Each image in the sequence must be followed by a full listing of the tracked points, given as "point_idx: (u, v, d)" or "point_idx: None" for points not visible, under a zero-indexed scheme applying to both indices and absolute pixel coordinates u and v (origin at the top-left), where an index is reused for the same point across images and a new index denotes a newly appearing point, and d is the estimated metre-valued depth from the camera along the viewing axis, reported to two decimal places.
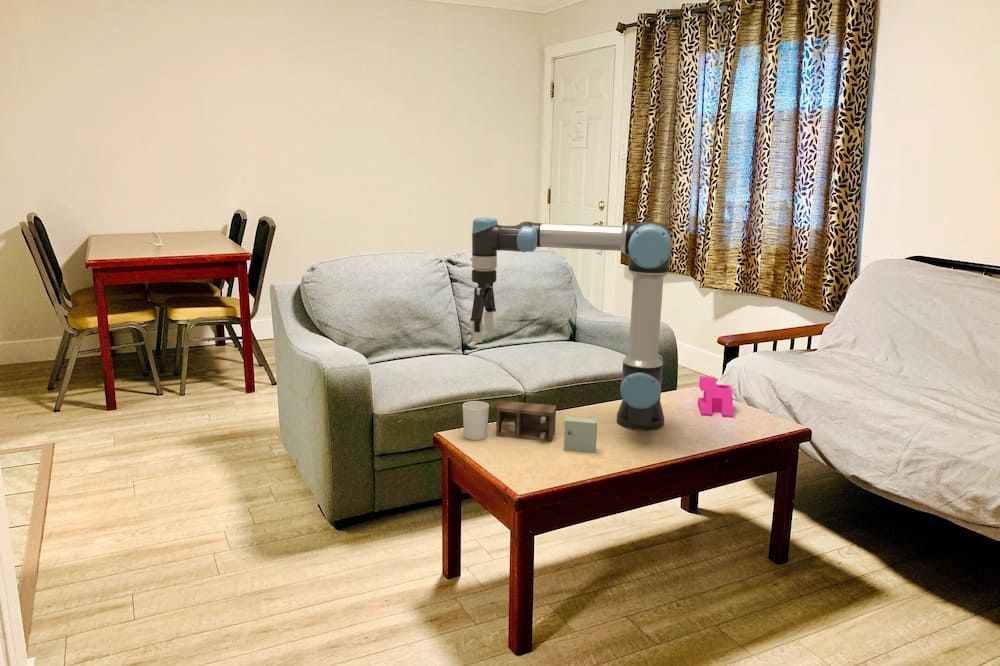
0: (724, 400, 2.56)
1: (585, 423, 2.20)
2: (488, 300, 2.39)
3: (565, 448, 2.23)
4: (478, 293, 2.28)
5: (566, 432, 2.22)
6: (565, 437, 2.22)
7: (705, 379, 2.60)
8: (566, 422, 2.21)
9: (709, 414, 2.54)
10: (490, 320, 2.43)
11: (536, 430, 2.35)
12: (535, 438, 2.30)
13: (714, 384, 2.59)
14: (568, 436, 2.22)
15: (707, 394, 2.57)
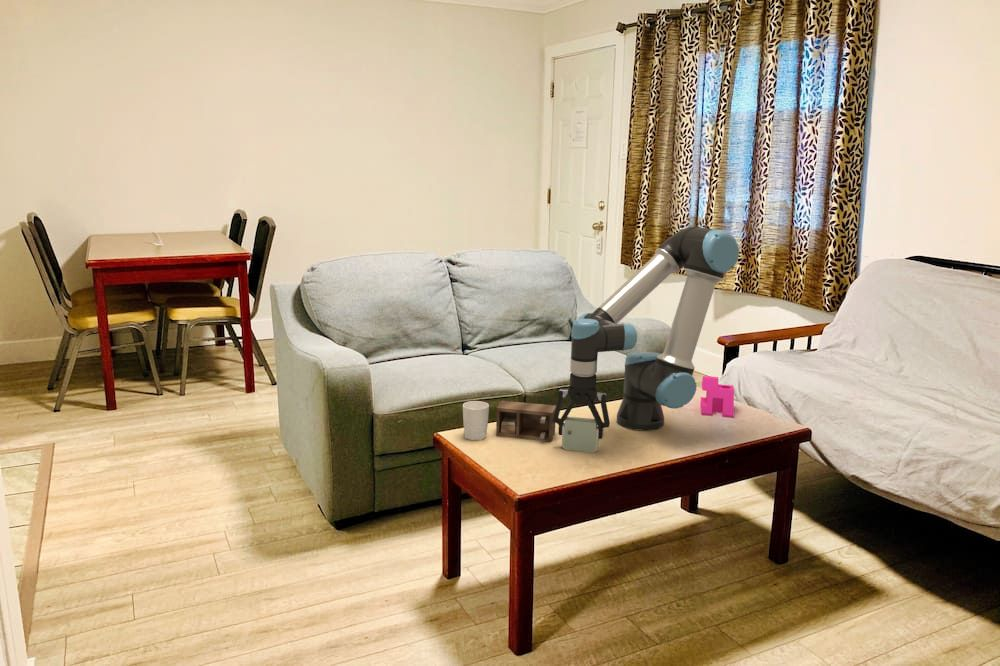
0: (725, 400, 2.56)
1: (585, 423, 2.20)
2: None
3: (565, 448, 2.23)
4: None
5: (566, 432, 2.22)
6: (565, 437, 2.22)
7: (707, 379, 2.61)
8: (566, 422, 2.21)
9: (709, 414, 2.54)
10: None
11: (536, 430, 2.35)
12: (535, 438, 2.30)
13: (716, 384, 2.59)
14: (568, 436, 2.22)
15: (708, 394, 2.58)
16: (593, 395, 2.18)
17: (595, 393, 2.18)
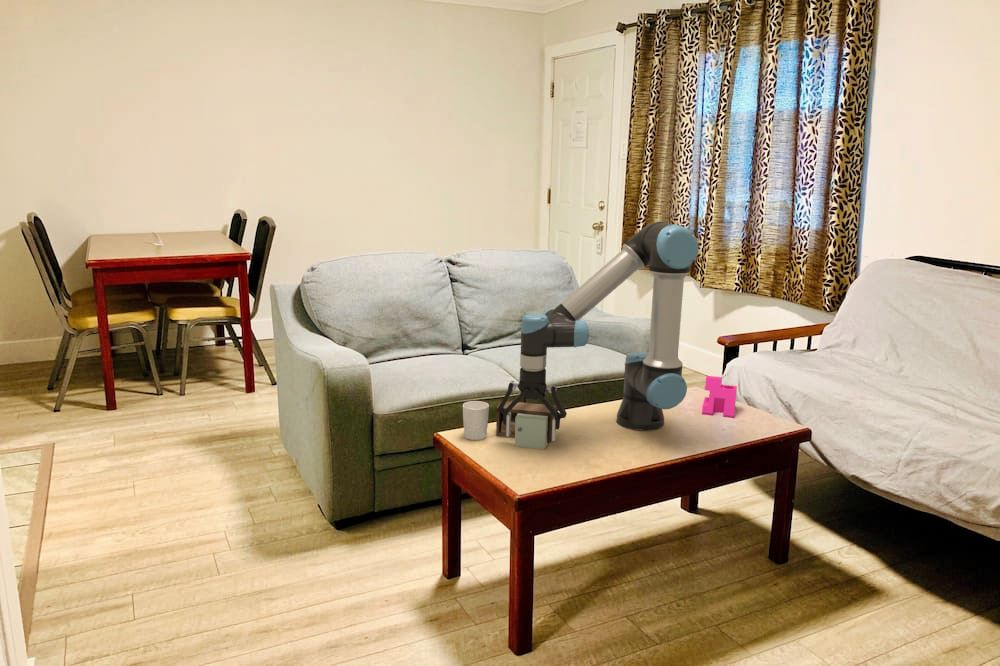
0: (727, 400, 2.56)
1: (535, 420, 2.22)
2: None
3: (516, 445, 2.25)
4: None
5: (517, 429, 2.23)
6: (516, 434, 2.24)
7: (710, 379, 2.61)
8: (516, 419, 2.23)
9: (710, 413, 2.54)
10: None
11: None
12: None
13: (719, 384, 2.59)
14: (519, 433, 2.24)
15: (710, 393, 2.58)
16: (543, 389, 2.20)
17: (544, 387, 2.20)
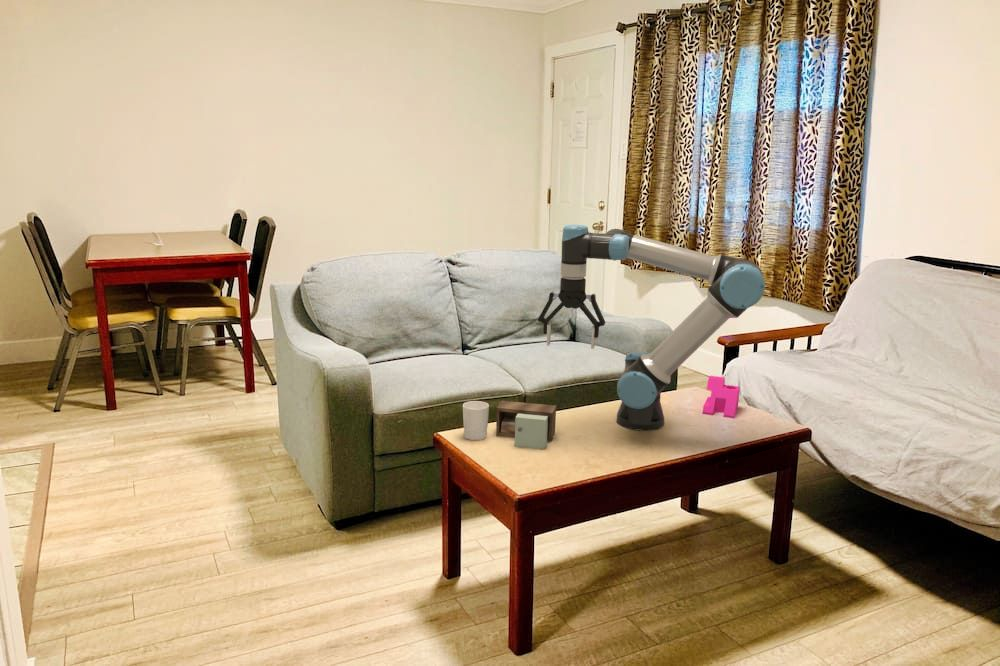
0: (728, 400, 2.55)
1: (535, 420, 2.22)
2: None
3: (516, 445, 2.25)
4: None
5: (517, 429, 2.23)
6: (516, 434, 2.24)
7: (712, 379, 2.61)
8: (516, 419, 2.23)
9: (710, 413, 2.55)
10: None
11: None
12: None
13: (721, 384, 2.59)
14: (519, 433, 2.24)
15: (712, 393, 2.58)
16: (583, 298, 2.28)
17: (584, 295, 2.28)
